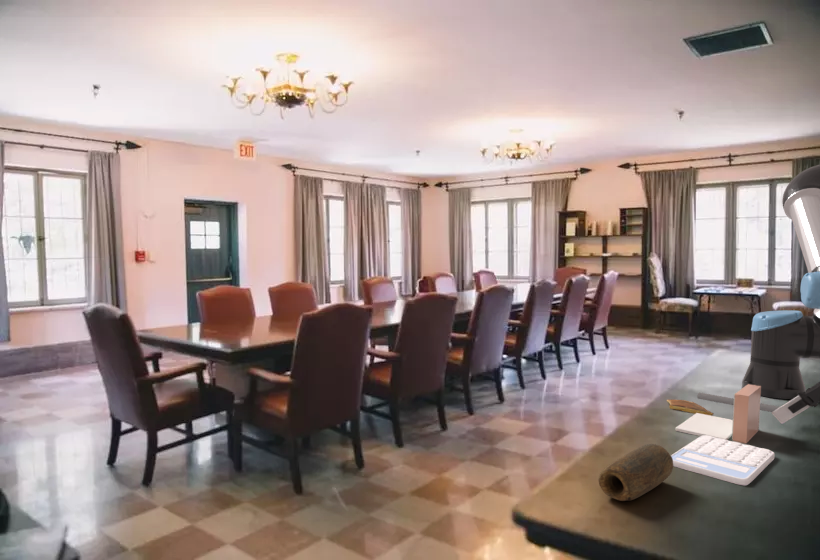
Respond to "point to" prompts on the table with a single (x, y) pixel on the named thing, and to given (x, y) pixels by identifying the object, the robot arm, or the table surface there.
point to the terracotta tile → (746, 413)
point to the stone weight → (636, 472)
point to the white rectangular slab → (707, 426)
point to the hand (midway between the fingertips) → (777, 417)
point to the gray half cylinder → (732, 401)
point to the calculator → (723, 459)
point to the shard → (688, 407)
